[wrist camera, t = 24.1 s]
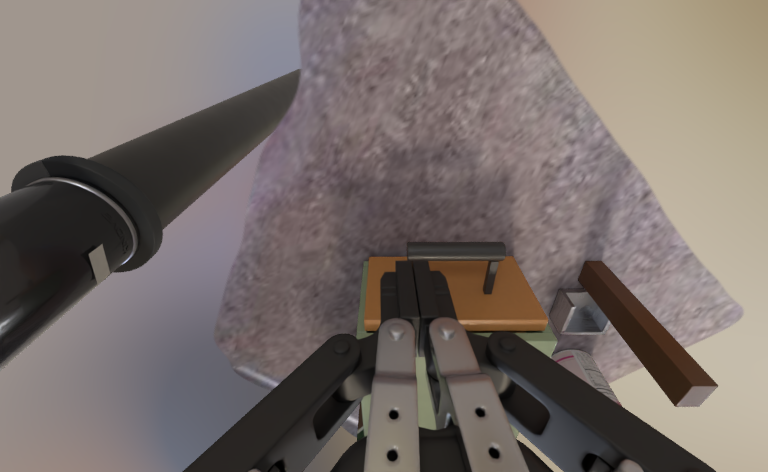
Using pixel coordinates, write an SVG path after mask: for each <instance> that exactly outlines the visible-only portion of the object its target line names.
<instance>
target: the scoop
mask: <svg viewBox="0 0 768 472" xmlns="http://www.w3.org/2000/svg"><path fill="white" fill-rule="evenodd" d="M578 281H579V282H580V283H581V284H582V286H583V287H584V288H585V289H559V291H558V294H557V297H556V299H555V302H554V305H553V307H552V310H551V313H550V315H549V317H550V319H551V320H552V322H553V324H554V326H555V327H556V329H557V331H558V333H559V334H560V335H605V333H606V331H607V329H608V327H609V326H610V324H612V325H613V326H614V327H615V329H616V330H617V331H618V333H619V334H620V335H621V337H622V338H623V339H624V340H625V342H626V343H627V344H628V346H629V347H630V348H631V350H632V351H633V352H634V354H635V355H636V356H637V357H638V359H639V360H640V361H641V363H642V364H643V365H644V367H645V368H646V369H647V370H648V372H649V373H650V374H651V376H652V377H653V378H654V379H655V381H656V382H657V383H658V385H659V386H660V387H661V389H662V390H663V391H664V392H665V394H666V395H667V396H668V398H669V399H670V400H671V402H672V403H673V404H674V406H676V407H699V406H700V405H701V404H702V403H703V402H704V401H705V400H706V399H707V398H708V397H709V396H710V394H711V393H712V392H713V391H714V390H715V389H716V388H717V387H718V385H717V384H716V383H715V382H714V380H713V379H712V378H711V377H710V376H709V375H708V374H707V373H706V372H705V371H704V370H703V369H702V368H701V367H700V366H699V364H697V362H696V361H695V360H694V359H693V358H692V357H691V356H690V355H689V354H688V353H687V352H686V351H685V349H684V348H683V347H682V346H681V345H680V344H679V343H678V342H677V341H676V340H675V339H674V338H673V337H672V336H671V334H670V333H669V332H668V331H667V330H666V329H665V328H664V327H663V326H662V325H661V324H660V323H659V322H658V321H657V319H656V318H655V317H654V316H653V315H652V314H651V313H650V312H649V311H648V310H647V309H646V308H645V307H644V306H643V305H642V303H641V302H640V301H639V300H638V299H637V298H636V297H635V296H634V295H633V294H632V293H631V292H630V291H629V290H628V288H627V287H626V286H625V285H624V284H623V283H622V282H621V281H620V280H619V279H618V278H617V277H616V276H615V275H614V273H613V272H612V271H611V270H610V269H609V268H608V267H607V266H606V265H605V264H604V263H603V262H602V261H585V264H584V266H583V268H582V271H581V273H580V276H579V278H578Z"/></svg>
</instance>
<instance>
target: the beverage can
mask: <svg viewBox="0 0 768 472" xmlns="http://www.w3.org/2000/svg"><path fill="white" fill-rule="evenodd" d="M551 359H553V360H554V361H556V362H557V363H559V364H560V365H562V366H563V367H565V368H566V369H567V370H569V371H570V372H572V373H573V374H575V375H576V376H578V377H579V378H581V379H582V380H584V381H585V382H587V383H588V384H590V385H591V386H592V387H594V388H595V389H597V390H598V391H600V392H601V393H603V394H604V395H606V396H607V397H609V398H610V399H612V400H613V401H614V402H616V403H617V404H619V405H620V406H622V405H621V404H620V402H619V401H618V399H617V397H616V396H615V394H614V392H613V391H612V389H611V388H610V386H609V384H608V383H607V381H606V380H605V378H604V376H603V375H602V373H601V371H600V370H599V368H598V367H597V365H596V363H595V362H594V360H593V359H592V357H591V356H590V355H589V354H588V353H586V352H583V351H580V350H574V349H571V350H564V351H560V352H558V353H555V354H554V355H552V356H551Z"/></svg>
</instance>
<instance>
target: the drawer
mask: <svg viewBox="0 0 768 472" xmlns="http://www.w3.org/2000/svg"><path fill="white" fill-rule="evenodd" d="M505 255H506V248H505V244H504V243H503V242H408V243H407V257H369V264H368V276H367V289H366V301H365V313H364V328H365V331H376V330H377V329H378V328H379V326H380V322H381V307H380V279H381V277H382V275H383V274H384V272H395V261H402V260H411V263H412V260H428V262H429V267H430V271H439V270H440V272H441V273H442V274H443V275H444V276H445V277H446V279H447V283H448V288H449V290H450V294H451V297H452V301H453V305H454V308H455V312H456V315H457V319H458V321H459V322H460V323H461V324H462V325H463V327H464V328H465V329H466V330H467V331H469V332H471V333H493V332H496V331H508V332H512V333H526V331H544V330H545V328H546V325H547V323H548V318H547V316H546V314H545V313H544V311H543V309H542V307H541V305H540V304H539V302H538V300H537V298H536V296H535V295H534V293H533V291H532V289H531V287H530V286H529V284H528V282H527V280H526V279H525V277H524V275H523V273H522V271H521V270H520V268H519V266H518V264H517V262H516V261H515V259H514V257H513V256H505Z"/></svg>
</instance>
